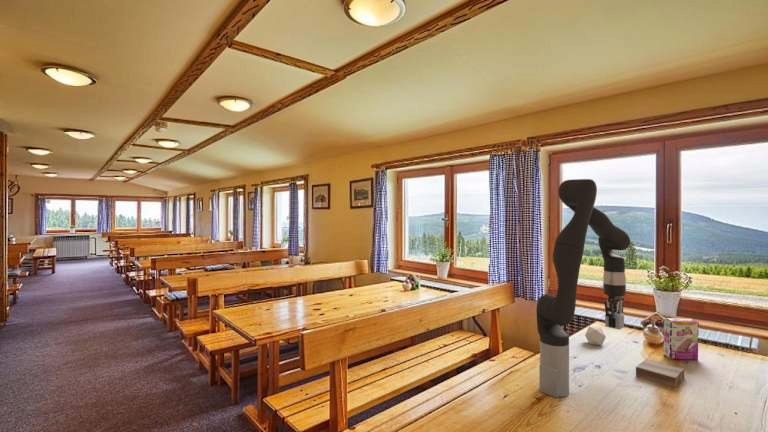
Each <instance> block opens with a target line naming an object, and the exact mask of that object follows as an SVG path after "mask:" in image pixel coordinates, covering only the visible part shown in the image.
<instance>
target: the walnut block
mask: <svg viewBox="0 0 768 432" xmlns="http://www.w3.org/2000/svg"><path fill="white" fill-rule="evenodd" d="M635 377H637V378H641V379H643V380H646V379H647V381H650V382H654V383H657V384H661V385H664V386H668V387H670V388H673V389H675V388H677V387H678V386H679V385H680V383H681V382H683V380H684V379H685V368H682V367H679V366H675V365H671V364H668V363H663V362H659V361H657V360H651V359H648V358H646V359H644V360H643V361H641V362H640V363H639V364H638V365H637V366H635Z"/></svg>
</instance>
